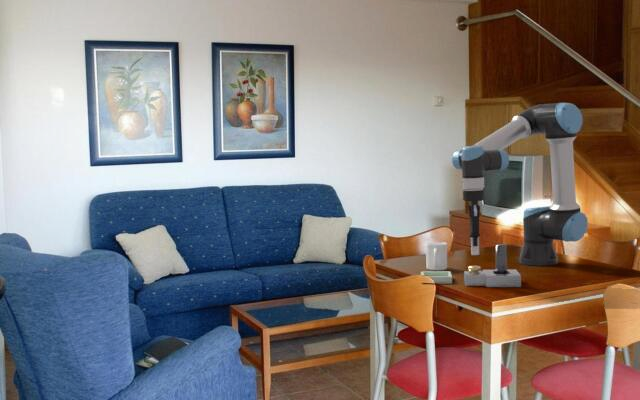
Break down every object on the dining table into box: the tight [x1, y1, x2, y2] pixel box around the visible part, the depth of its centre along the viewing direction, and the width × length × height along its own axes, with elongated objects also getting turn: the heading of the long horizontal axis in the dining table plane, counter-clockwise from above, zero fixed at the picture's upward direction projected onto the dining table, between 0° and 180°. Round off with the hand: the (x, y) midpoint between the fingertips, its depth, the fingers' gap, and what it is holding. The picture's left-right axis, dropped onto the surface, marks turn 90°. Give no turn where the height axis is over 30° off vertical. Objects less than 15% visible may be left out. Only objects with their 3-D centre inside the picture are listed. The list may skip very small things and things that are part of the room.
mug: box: [425, 241, 448, 271], centre depth 305 cm, size 12×8×10 cm
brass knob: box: [467, 265, 482, 274], centre depth 275 cm, size 4×4×5 cm
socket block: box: [463, 268, 522, 288], centre depth 275 cm, size 19×12×4 cm, turn 84°
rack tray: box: [420, 270, 453, 285], centre depth 283 cm, size 11×11×2 cm
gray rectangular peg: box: [494, 243, 508, 274], centre depth 274 cm, size 4×4×14 cm
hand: (475, 254), depth 275 cm, fingers closed
